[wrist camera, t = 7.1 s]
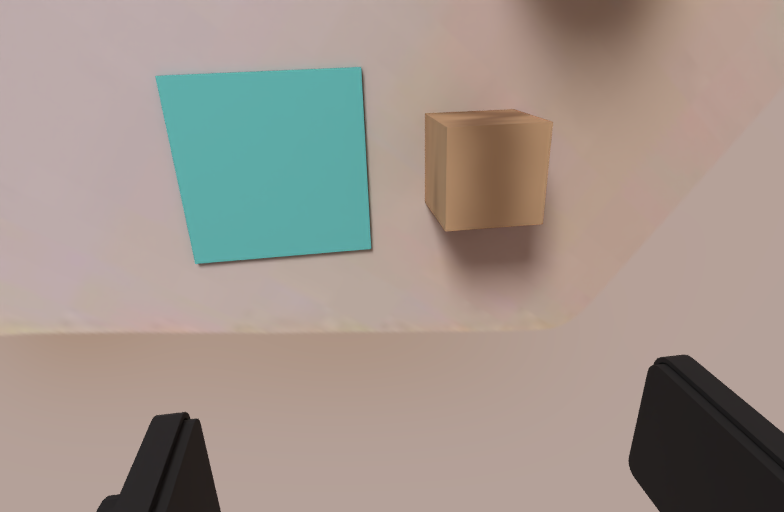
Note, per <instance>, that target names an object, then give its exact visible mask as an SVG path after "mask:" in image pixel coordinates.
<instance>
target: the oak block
mask: <svg viewBox="0 0 784 512" xmlns="http://www.w3.org/2000/svg"><path fill="white" fill-rule="evenodd" d="M552 126H553V122H551V121H548V120H545V119H542V118H539V117H536V116H533V115H530V114H527V113H524V112H521V111H518V110H515V109H510V110H489V111H467V112H446V113H425V203H426V204H427V206H428V207H429V209H430V210H431V211H432V213H433V214H434V216H435V217H436V219H437V220H438V222H439V223H440V224H441V226H442V227H443V229H444V230H445V232H446V231H459V230H472V229H485V228H498V227H512V226H525V225H538V224H543V216H544V206H545V196H546V186H547V176H548V166H549V156H550V146H551V136H552Z"/></svg>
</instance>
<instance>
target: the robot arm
mask: <svg viewBox="0 0 784 512" xmlns="http://www.w3.org/2000/svg"><path fill="white" fill-rule="evenodd" d="M629 467H630V470H631V472H632V474H633V476H634V478H635V479H636V480H637V482H638V483H639V484H640V486H641V487H642V488H643V490H644V491H645V493H646V494H647V495H648V497H649V498H650V499H651V500H652V502H653V503H654V505H655V506H656V507H657V509H658V510H659V511H660V512H784V433H783V432H782V431H780V430H779V429H778V428H776V427H775V426H774V425H773V424H772V423H771V422H769V421H768V420H767V419H766V418H765V417H763V416H762V415H761V414H760V413H758V412H757V411H756V410H755V409H754V408H752V407H751V406H750V405H749V404H748V403H746V402H745V401H744V400H743V399H741V398H740V397H739V396H738V395H737V394H735V393H734V392H733V391H732V390H731V389H729V388H728V387H727V386H726V385H724V384H723V383H722V382H721V381H720V380H718V379H717V378H716V377H715V376H714V375H712V374H711V373H710V372H709V371H707V370H706V369H705V368H704V367H703V366H701V365H700V364H699V363H698V362H697V361H695V360H694V359H693V358H691V357H690V356H688V355H676V356H668V357H660V358H657V360H656V361H655V362H654V365H652V366H651V367H650V368H649V370H648V373H647V377H646V382H645V387H644V391H643V396H642V400H641V405H640V409H639V414H638V418H637V423H636V427H635V432H634V436H633V441H632V446H631V450H630V455H629ZM97 512H221V511H220V506H219V502H218V497H217V494H216V489H215V485H214V480H213V476H212V471H211V467H210V463H209V458H208V454H207V450H206V445H205V441H204V436H203V432H202V428H201V424H200V421H199V419H190V416H189V414H188V413H186V412H182V413H173V414H164V415H156V416H155V417H154V418H153V419H152V421H151V423H150V425H149V428H148V430H147V432H146V435H145V437H144V439H143V442H142V444H141V446H140V449H139V451H138V453H137V456H136V458H135V460H134V463H133V465H132V467H131V469H130V472H129V474H128V476H127V479H126V481H125V483H124V486H123V488H122V490H121V493H120V494H118V495H111V496H108V497H106V498H105V499H104V500H103V501H102V503H101V505H100V506H99V508H98V509H97Z"/></svg>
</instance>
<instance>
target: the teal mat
mask: <svg viewBox="0 0 784 512" xmlns="http://www.w3.org/2000/svg"><path fill="white" fill-rule="evenodd" d="M155 77H156V82H157V86H158V91H159V96H160V100H161V105H162V110H163V114H164V119H165V124H166V128H167V133H168V138H169V143H170V147H171V152H172V157H173V161H174V166H175V171H176V175H177V180H178V185H179V189H180V194H181V199H182V204H183V208H184V213H185V218H186V222H187V227H188V232H189V236H190V241H191V246H192V250H193V255H194V260H195V264H199V263H211V262H223V261H235V260H246V259H258V258H270V257H282V256H293V255H305V254H317V253H328V252H340V251H352V250H364V249H371V237H370V219H369V201H368V183H367V165H366V147H365V129H364V111H363V93H362V75H361V67H351V68H328V69H305V70H282V71H258V72H235V73H212V74H188V75H165V76H155Z"/></svg>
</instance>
